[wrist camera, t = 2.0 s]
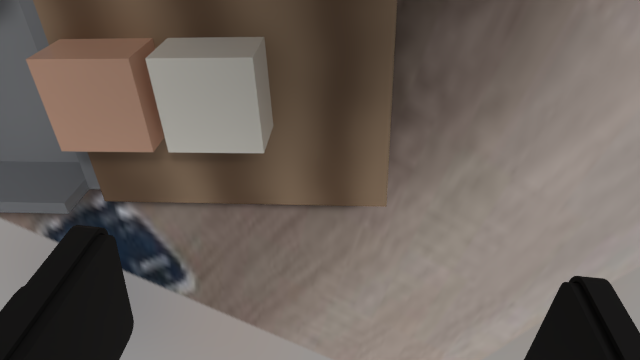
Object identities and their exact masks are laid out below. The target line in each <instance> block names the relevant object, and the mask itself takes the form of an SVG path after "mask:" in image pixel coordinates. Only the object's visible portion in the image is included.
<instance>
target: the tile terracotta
mask: <svg viewBox="0 0 640 360" xmlns="http://www.w3.org/2000/svg"><path fill="white" fill-rule="evenodd" d="M154 50H155V47H154V42H153V38H115V39H59V40H57V41H56V42H54V43H52V44H51V45H49V46H47V47H46V48H44V49H42V50H40V51H39V52H37V53H35V54H34V55H32V56H30V57H29V58H27V59H26V61H27V64H28V66H29V69H30V72H31V74H32V77H33V79H34V82H35V84H36V87H37V89H38V92H39V94H40V97H41V100H42V102H43V105H44V107H45V110H46V112H47V115H48V117H49V120H50V122H51V125H52V128H53V130H54V133H55V135H56V138H57V140H58V143H59V145H60V148H61V150H62V151H75V152H154V151H155V150H156V148H157V147H158V145H159V144H160V143H161V141H162V140H163V138H164V137H165V136H164V132H163V128H162V124H161V120H160V116H159V112H158V108H157V104H156V100H155V96H154V92H153V88H152V84H151V80H150V76H149V72H148V68H147V64H146V60H145V58H146V57H147V56H148V55H149V54H151V53H152V52H153V51H154Z"/></svg>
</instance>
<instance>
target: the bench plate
mask: <svg viewBox="0 0 640 360" xmlns="http://www.w3.org/2000/svg"><path fill="white" fill-rule="evenodd" d="M33 2H34V5H35V7H36V10H37V13H38V16H39V19H40V21H41V24H42V27H43V30H44V32H45V35H46V38H47V41H48V44H49V45H51V44H52V43H54V42H56V41H57V40H59V39H115V38H153V42H154V47H155V49H156V48H157V47H158V46H159V45H160V44H162V43H163V42H164V41H165V40H166V39H167V38H203V37H264V38H265V48H266V58H267V68H268V78H269V88H270V97H271V107H272V117H273V128H272V131H271V134H270V137H269V140H268V143H267V146H266V149H265V152H264V153H176V152H168V148H167V144H166V140H165V137H164V138H163V140H162V141H161V143H160V144H159V145H158V147H157V148H156V150H155V151H154V152H88V155H89V158H90V161H91V164H92V166H93V169H94V172H95V175H96V178H97V180H98V183H99V186H100V189H101V192H102V194H103V197H104V200H105V201H124V202H176V203H228V204H281V205H333V206H385V207H386V203H387V184H388V165H389V146H390V128H391V109H392V90H393V71H394V52H395V33H396V14H397V0H33Z"/></svg>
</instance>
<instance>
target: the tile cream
mask: <svg viewBox="0 0 640 360" xmlns="http://www.w3.org/2000/svg"><path fill="white" fill-rule="evenodd" d="M145 60H146V64H147V68H148V72H149V76H150V80H151V84H152V88H153V92H154V96H155V100H156V104H157V108H158V112H159V116H160V120H161V124H162V128H163V132H164V136H165V140H166V144H167V148H168V152H176V153H264V152H265V149H266V146H267V143H268V140H269V137H270V134H271V131H272V128H273V117H272V107H271V97H270V88H269V78H268V68H267V58H266V48H265V38H264V37H203V38H167V39H166V40H165V41H164V42H163V43H162V44H160V45H159V46H158V47H157V48H156V49H155V50H154V51H153V52H152V53H151V54H149V55H148V56H147V57H146V58H145Z"/></svg>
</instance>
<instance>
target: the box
mask: <svg viewBox="0 0 640 360" xmlns="http://www.w3.org/2000/svg"><path fill="white" fill-rule="evenodd" d="M47 46H49V44H48V41H47V38H46V35H45V32H44V30H43V27H42V24H41V21H40V19H39V16H38V13H37V10H36V7H35V5H34V2H33V0H0V212H9V213H55V214H69V213H70V212H71V210H72V209H73V208H74V207H75V206H76V204H77V203H78V202H79V201H80V200H81V198H82V197H83V196H84V195H85V194H86V192H87V191H88V190H89V189H100V186H99V183H98V180H97V178H96V175H95V172H94V169H93V166H92V164H91V161H90V158H89V155H88V152H75V151H62V150H61V148H60V145H59V143H58V140H57V138H56V135H55V133H54V130H53V128H52V125H51V122H50V120H49V117H48V115H47V112H46V110H45V107H44V105H43V102H42V100H41V97H40V94H39V92H38V89H37V87H36V84H35V82H34V79H33V77H32V74H31V72H30V69H29V66H28V64H27V61H26V59H27V58H29V57H30V56H32V55H34V54H35V53H37V52H39V51H40V50H42V49H44V48H46V47H47Z"/></svg>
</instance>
